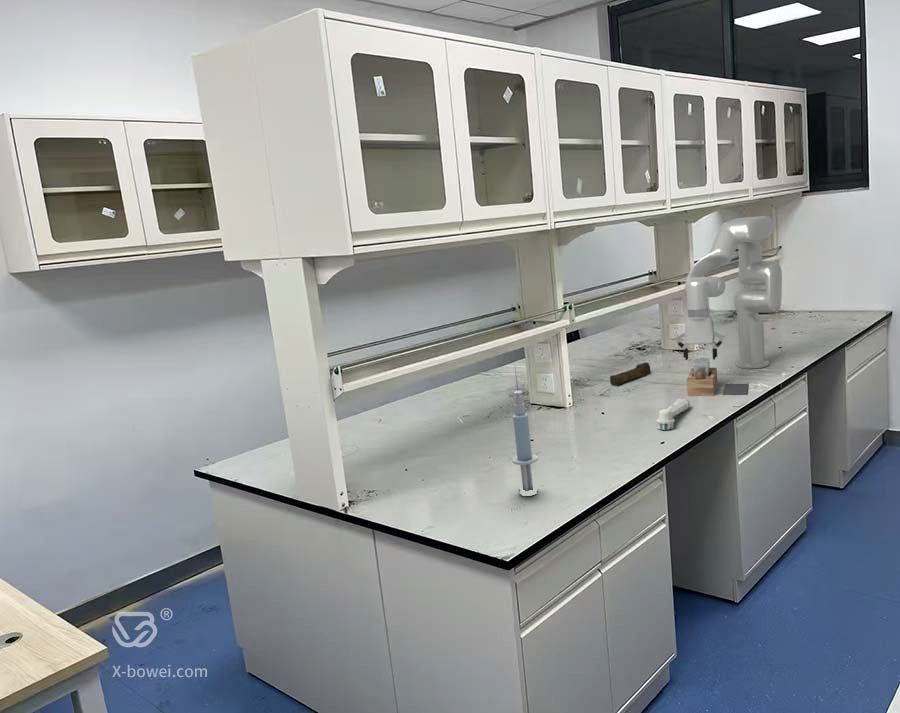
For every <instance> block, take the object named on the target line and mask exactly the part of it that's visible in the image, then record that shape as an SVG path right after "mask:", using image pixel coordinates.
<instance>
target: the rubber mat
mask: <svg viewBox="0 0 900 713" xmlns="http://www.w3.org/2000/svg"><path fill="white" fill-rule="evenodd" d="M748 389H749V382H747V383H725V384H724V386H723V391H722V396H736V395H737V396H744V395H745V396H747V395H748Z"/></svg>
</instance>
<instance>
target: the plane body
mask: <svg viewBox="0 0 900 713" xmlns="http://www.w3.org/2000/svg"><path fill="white" fill-rule="evenodd" d="M717 368H718V367H710V376H705V371H696V372H695V377H694V368H693V367H692V368H691V369H690V371H689V374H688V375H687V376H688V377H687V378H686V392H687V396H688V397H694V396H695V397H702V396H703V397H710V396H711V397H714V396H715V392H716V389H717V386H718V369H717Z"/></svg>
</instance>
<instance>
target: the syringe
mask: <svg viewBox="0 0 900 713" xmlns="http://www.w3.org/2000/svg"><path fill="white" fill-rule="evenodd" d="M514 371H515V374H517V368H516V367H514ZM515 382H516V390H515V391H514V392H513V395H514V397H513V399H514V400H513V401H514V404H513V406H514V414H513V415H512V420H513V427H514V428H513V429H514V439H515V446H516V455H515V456H513V457H512V459H511V461H512V463H513V464H514V465H517V466H520V473H521V484H522V487H523V490H525V491H529V490H533V486H534V485H533V484H534V483H533V475H532V474H533V473H532V466H531V464H534V463H536V462H538V460H539V458H538V456H537V455H536V454H532V445H531V435H530V427H529V425H530V424H529V415H528V413H526V410H525V403H524V396H523V392H522V391H521V390H519V384H518V378H517V375H515Z"/></svg>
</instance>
